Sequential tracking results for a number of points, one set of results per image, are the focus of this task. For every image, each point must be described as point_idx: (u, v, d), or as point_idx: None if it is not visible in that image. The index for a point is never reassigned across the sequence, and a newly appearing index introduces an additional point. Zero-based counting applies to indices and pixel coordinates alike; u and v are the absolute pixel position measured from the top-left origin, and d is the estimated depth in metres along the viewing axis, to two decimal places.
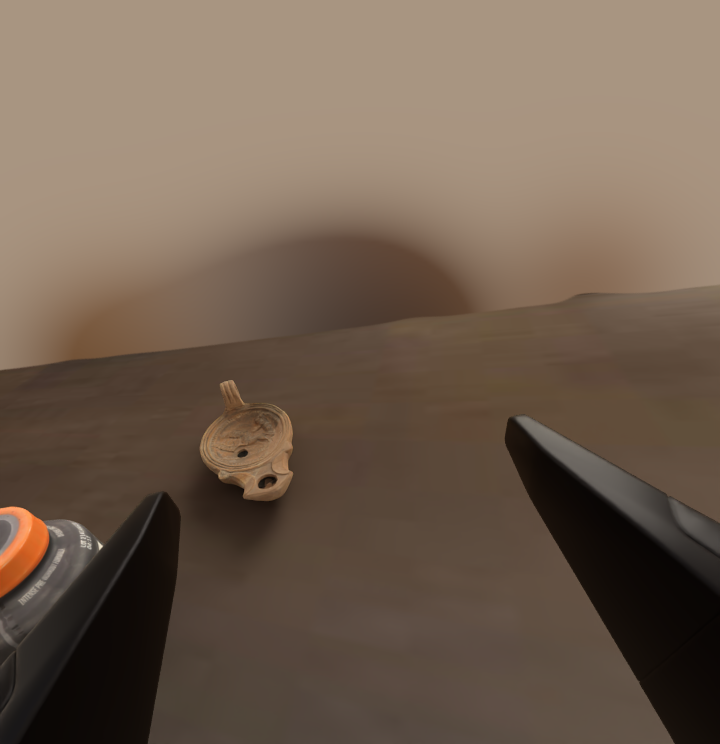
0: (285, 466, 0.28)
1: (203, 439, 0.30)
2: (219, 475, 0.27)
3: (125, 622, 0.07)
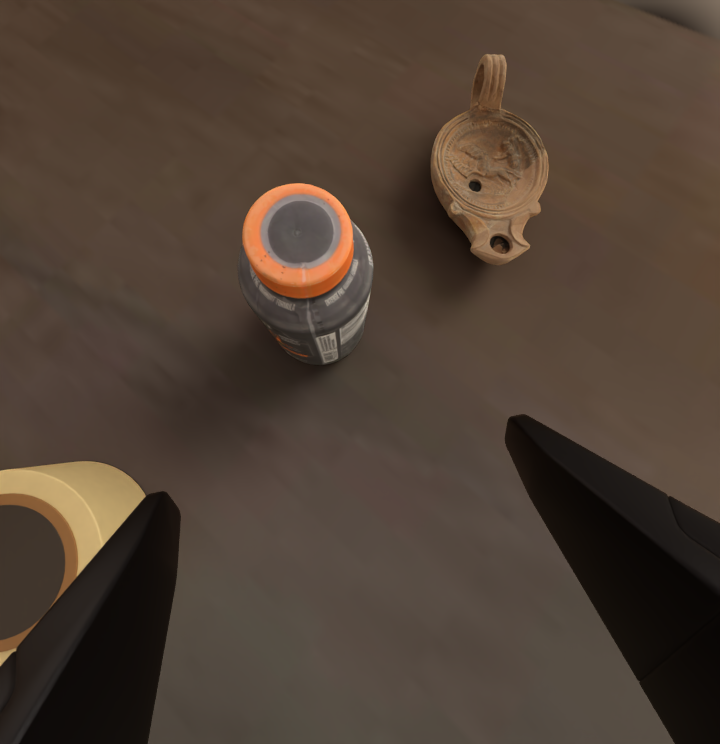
0: None
1: (438, 140, 0.23)
2: (451, 207, 0.23)
3: (125, 622, 0.07)
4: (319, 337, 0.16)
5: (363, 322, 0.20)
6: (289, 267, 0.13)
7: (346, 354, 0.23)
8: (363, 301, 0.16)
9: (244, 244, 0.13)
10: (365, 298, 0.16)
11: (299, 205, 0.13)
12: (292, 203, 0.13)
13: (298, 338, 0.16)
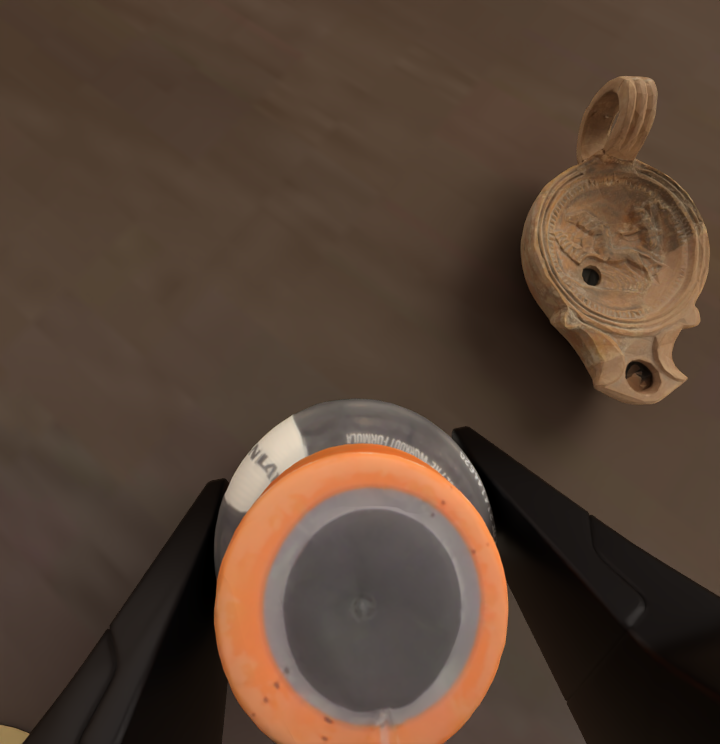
0: (669, 353, 0.15)
1: (540, 209, 0.15)
2: (565, 318, 0.14)
3: (204, 603, 0.07)
4: None
5: None
6: (343, 723, 0.05)
7: None
8: None
9: (219, 645, 0.05)
10: None
11: (370, 532, 0.05)
12: (347, 521, 0.05)
13: None
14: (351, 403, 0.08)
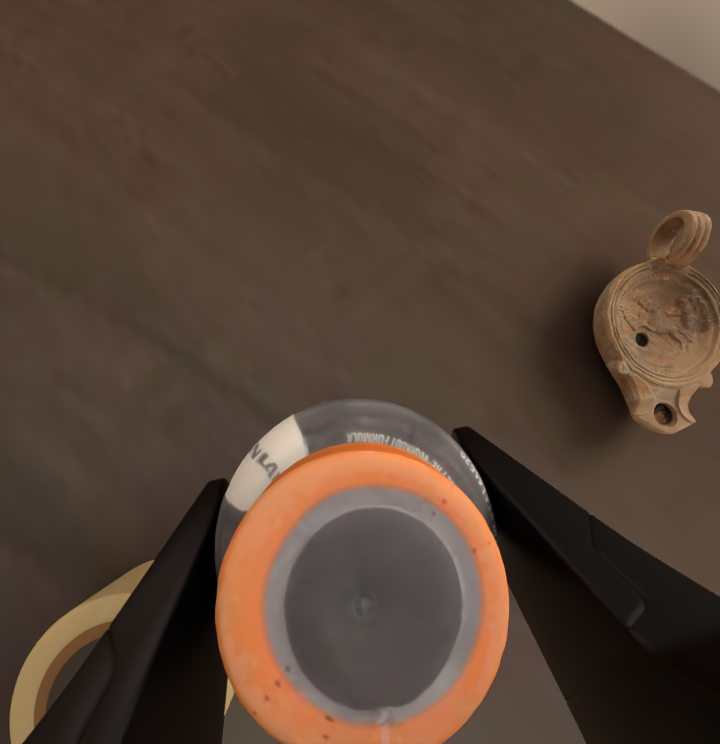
0: (686, 402, 0.22)
1: (615, 288, 0.22)
2: (620, 366, 0.21)
3: (204, 603, 0.07)
4: None
5: None
6: (344, 722, 0.05)
7: None
8: None
9: (220, 643, 0.05)
10: None
11: (371, 530, 0.05)
12: (349, 519, 0.05)
13: None
14: (352, 402, 0.08)
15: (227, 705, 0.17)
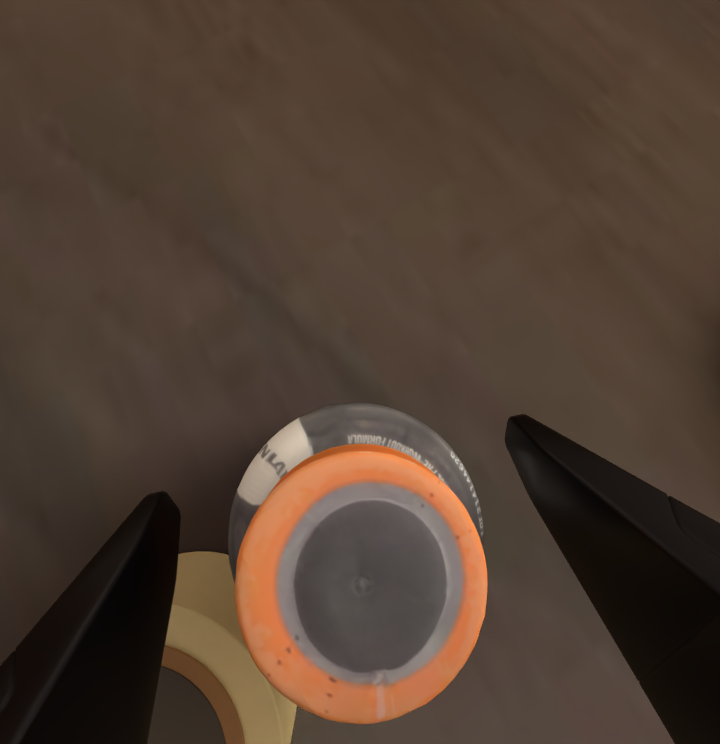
0: None
1: None
2: None
3: (125, 622, 0.07)
4: None
5: None
6: (345, 682, 0.05)
7: None
8: None
9: (239, 616, 0.06)
10: None
11: (368, 519, 0.06)
12: (349, 511, 0.06)
13: None
14: (353, 406, 0.09)
15: None
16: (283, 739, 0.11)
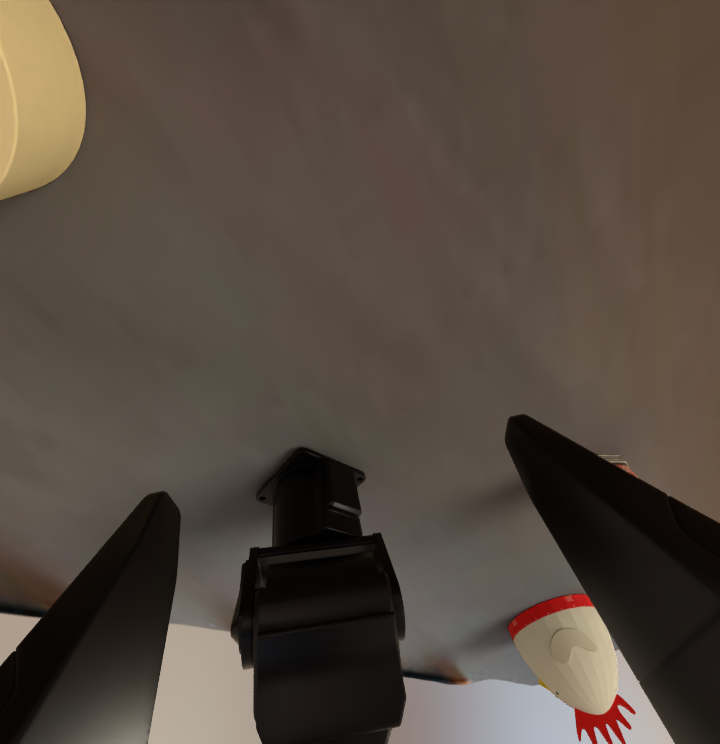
0: None
1: None
2: None
3: (125, 622, 0.07)
4: None
5: None
6: None
7: None
8: None
9: None
10: None
11: None
12: None
13: None
14: None
15: (39, 122, 0.12)
16: None
